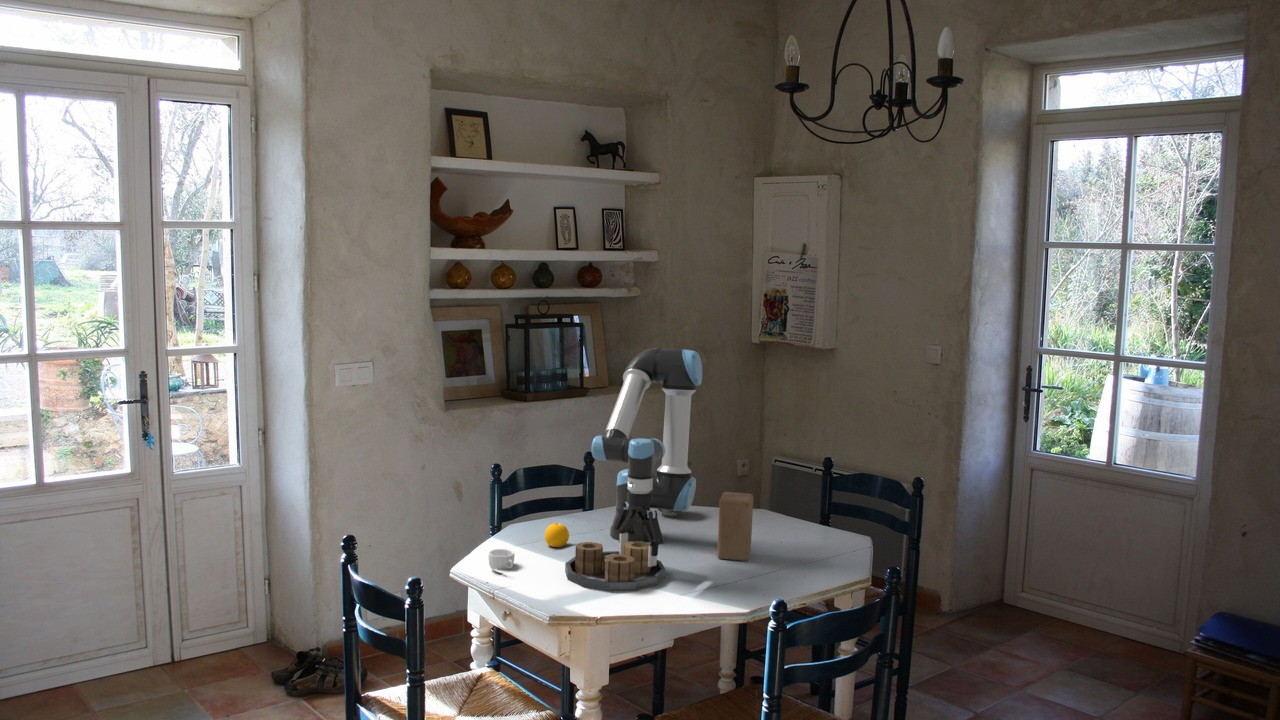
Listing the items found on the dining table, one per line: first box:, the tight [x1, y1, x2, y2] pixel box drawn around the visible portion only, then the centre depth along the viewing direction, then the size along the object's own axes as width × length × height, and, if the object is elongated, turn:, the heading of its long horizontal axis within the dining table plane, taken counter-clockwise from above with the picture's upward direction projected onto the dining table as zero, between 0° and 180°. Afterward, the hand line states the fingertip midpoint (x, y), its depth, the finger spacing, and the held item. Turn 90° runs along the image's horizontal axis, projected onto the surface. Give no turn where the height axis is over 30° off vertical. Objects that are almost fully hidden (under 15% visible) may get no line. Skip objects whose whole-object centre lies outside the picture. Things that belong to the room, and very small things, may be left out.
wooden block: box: [716, 491, 754, 562], centre depth 317 cm, size 10×10×20 cm
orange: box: [544, 522, 570, 548], centre depth 322 cm, size 8×8×8 cm
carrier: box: [564, 550, 666, 593], centre depth 291 cm, size 29×29×8 cm
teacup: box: [488, 548, 515, 573], centre depth 295 cm, size 10×8×5 cm
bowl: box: [657, 509, 683, 518], centre depth 365 cm, size 14×14×8 cm
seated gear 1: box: [574, 541, 604, 575], centre depth 294 cm, size 8×8×8 cm
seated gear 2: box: [605, 554, 635, 581], centre depth 282 cm, size 8×8×8 cm
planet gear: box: [624, 541, 651, 574], centre depth 296 cm, size 8×8×8 cm
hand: (637, 559), depth 296 cm, fingers open, 13 cm apart
